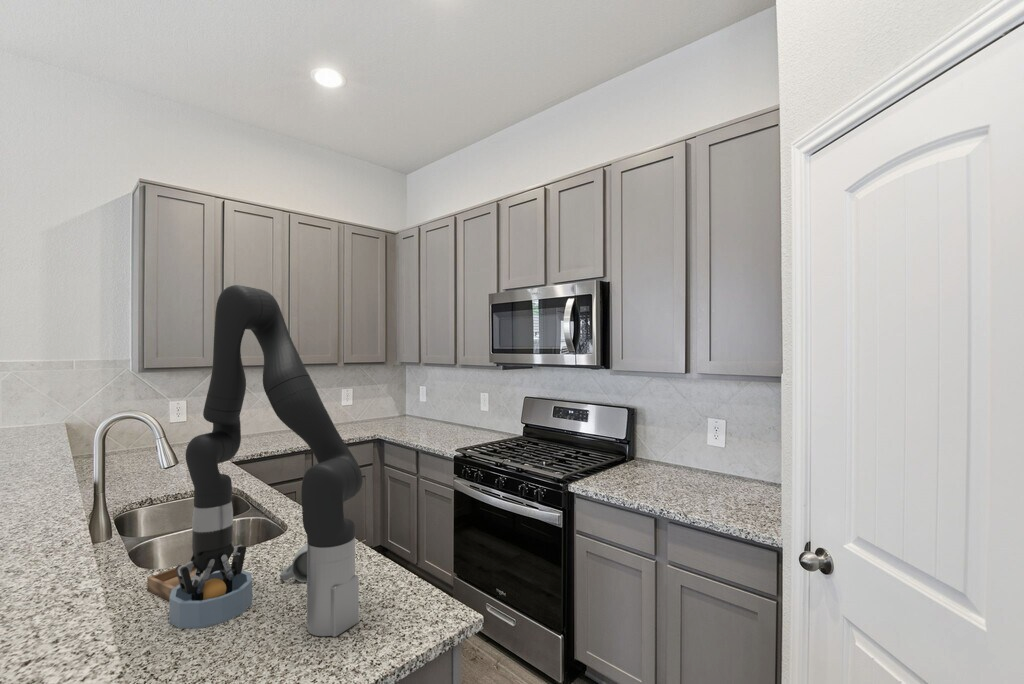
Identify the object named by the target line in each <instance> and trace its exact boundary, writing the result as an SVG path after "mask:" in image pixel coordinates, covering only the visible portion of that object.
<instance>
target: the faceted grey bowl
mask: <svg viewBox="0 0 1024 684" xmlns="http://www.w3.org/2000/svg"><path fill="white" fill-rule="evenodd" d="M201 575H203V574H201ZM214 578H217V579H221V580H223V577H222V575H221V573H220V571H215V572H213V573H212V574H209V577H208V580H210V579H214ZM208 580H207V581H208ZM191 581H192V583H193V578H191ZM168 602H169V603H168V604H169V605H168V606H169V608H168V611H169V613H168V614H169V617H168V619H169V621H168V622H169V624H171V625H173V626H174V627H176V628H178V629H202V628H207V627H210V626H215V625H218V624H222V623H225V622H227V621H229V620H231V619H234V618H236V617H237V616H239V615H241V614H243V613H245V611H246V610H247V609H248V608H249V607H250V606H251V605H252V604H253V575H252V573H251V572H249V571H247V570H246V571H245V570H243V569H242V572H241V573H240V574H237V575H236V576H234V578H233V579H232V592H230V593H228V594H225V595H223V596H220V597H216V598H211V599H207V600H202V601H192V593H191V594H187V593H185V592H183V591H181V587H180V584H179V585H178V586H177V587H175V588H174V589H172V590H171V594H170V598H169V601H168Z"/></svg>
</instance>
